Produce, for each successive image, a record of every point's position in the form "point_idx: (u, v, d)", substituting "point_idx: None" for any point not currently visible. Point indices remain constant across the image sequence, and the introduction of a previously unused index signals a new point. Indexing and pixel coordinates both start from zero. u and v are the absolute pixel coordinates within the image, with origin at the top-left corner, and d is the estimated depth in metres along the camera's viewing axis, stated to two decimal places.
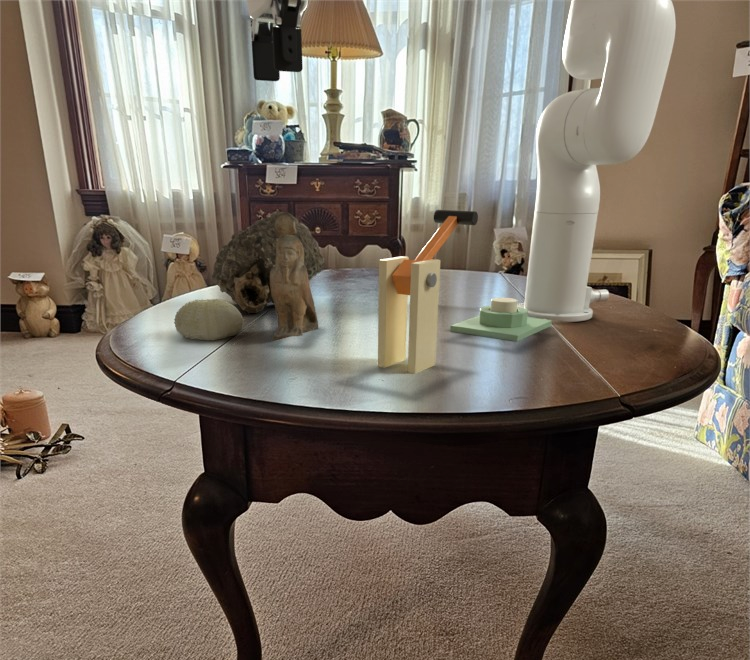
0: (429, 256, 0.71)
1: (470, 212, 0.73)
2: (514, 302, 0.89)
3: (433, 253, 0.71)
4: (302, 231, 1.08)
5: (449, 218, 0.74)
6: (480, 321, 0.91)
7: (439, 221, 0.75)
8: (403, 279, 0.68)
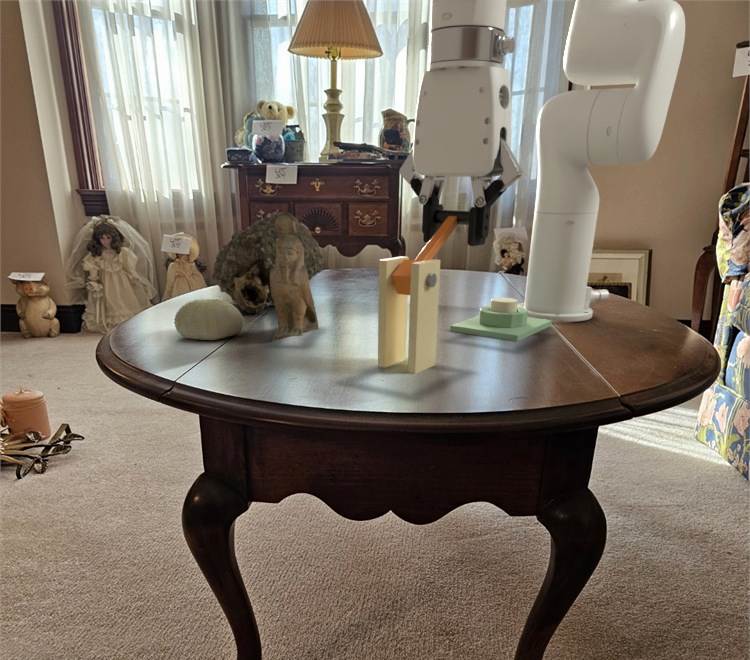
0: (429, 256, 0.71)
1: None
2: (514, 302, 0.89)
3: (433, 253, 0.71)
4: (302, 231, 1.08)
5: (449, 218, 0.74)
6: (480, 321, 0.91)
7: (439, 221, 0.75)
8: (403, 279, 0.68)
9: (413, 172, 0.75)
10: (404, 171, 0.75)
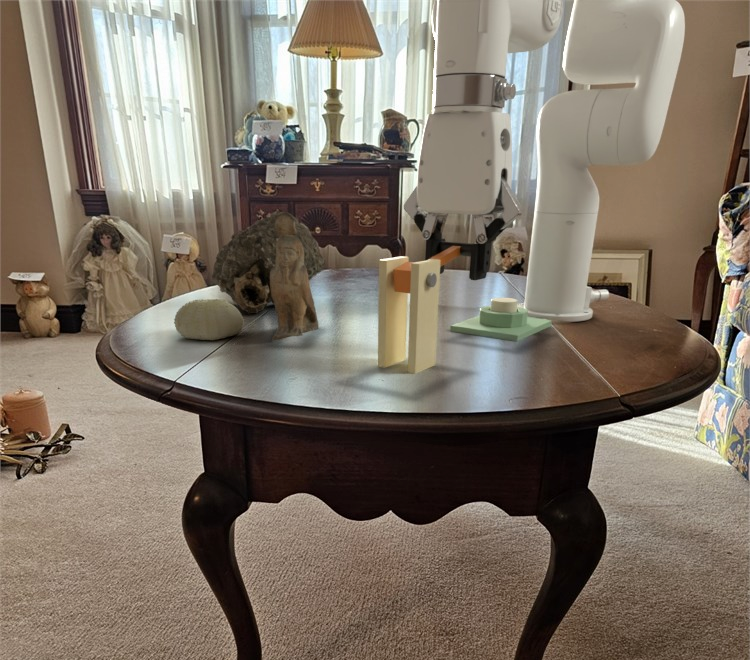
0: None
1: None
2: (514, 302, 0.89)
3: None
4: (302, 231, 1.08)
5: (453, 247, 0.76)
6: (480, 321, 0.91)
7: (442, 251, 0.77)
8: (404, 274, 0.68)
9: (416, 208, 0.77)
10: (408, 206, 0.78)
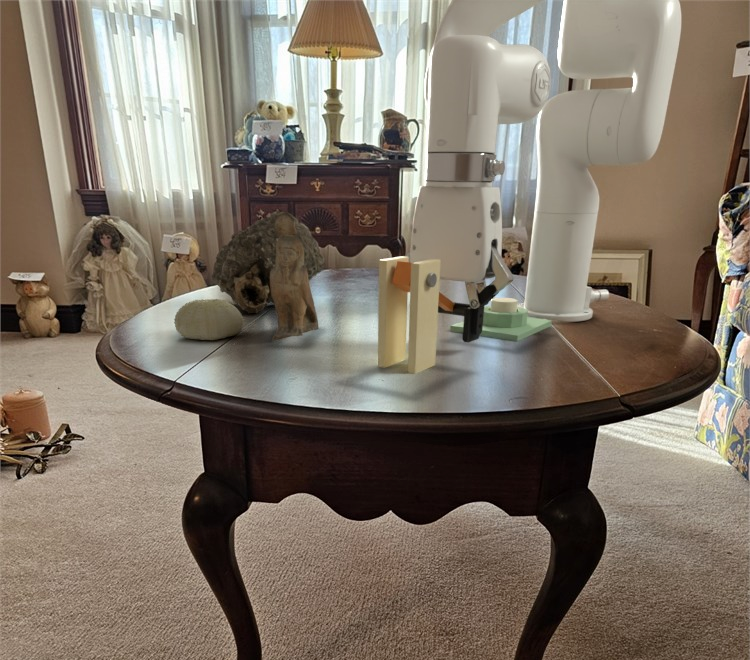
0: None
1: (468, 304, 0.78)
2: (514, 302, 0.89)
3: None
4: (302, 231, 1.08)
5: None
6: None
7: None
8: (407, 265, 0.68)
9: None
10: None
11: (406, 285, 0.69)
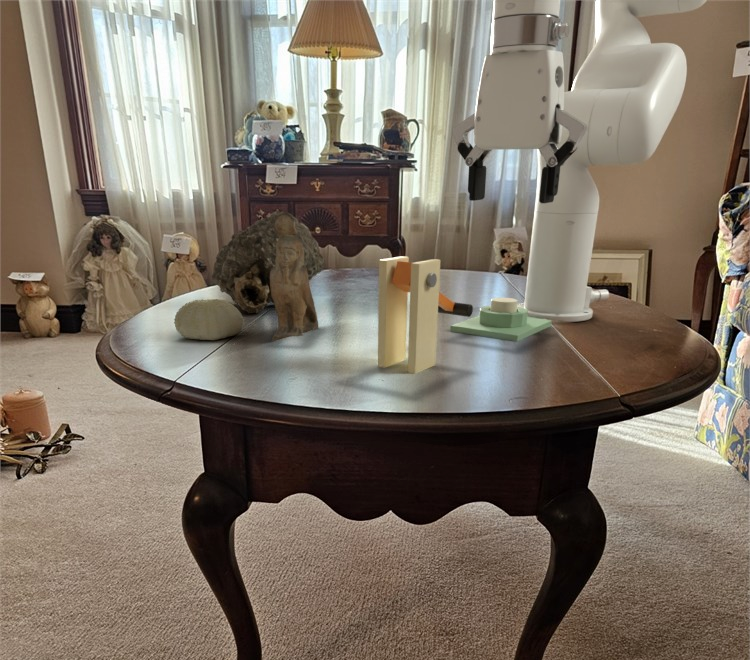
0: None
1: (468, 304, 0.78)
2: (514, 302, 0.89)
3: None
4: (302, 231, 1.08)
5: None
6: (480, 321, 0.91)
7: None
8: (407, 265, 0.68)
9: (463, 136, 0.84)
10: (456, 131, 0.84)
11: (406, 285, 0.69)
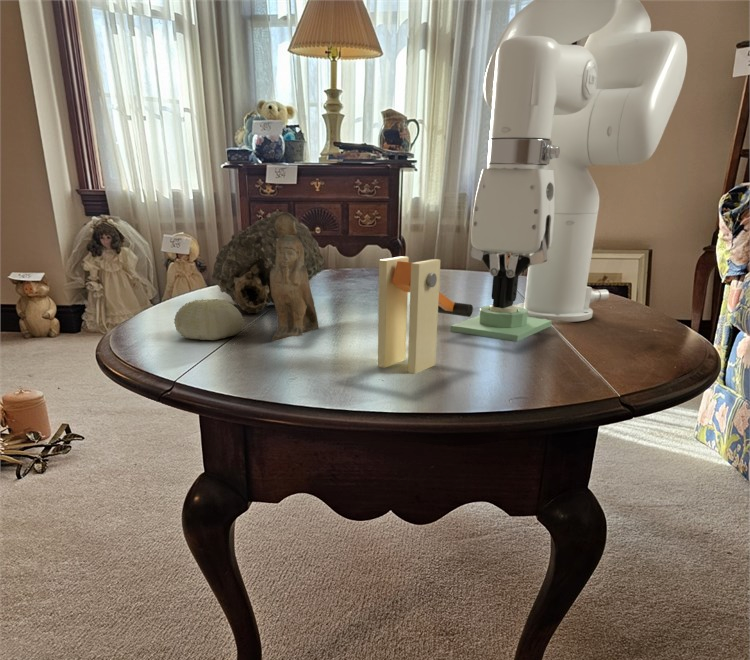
0: None
1: (468, 304, 0.78)
2: (513, 308, 0.90)
3: None
4: (302, 231, 1.08)
5: None
6: (480, 321, 0.91)
7: None
8: (407, 265, 0.68)
9: (482, 251, 0.89)
10: (474, 253, 0.89)
11: (406, 285, 0.69)
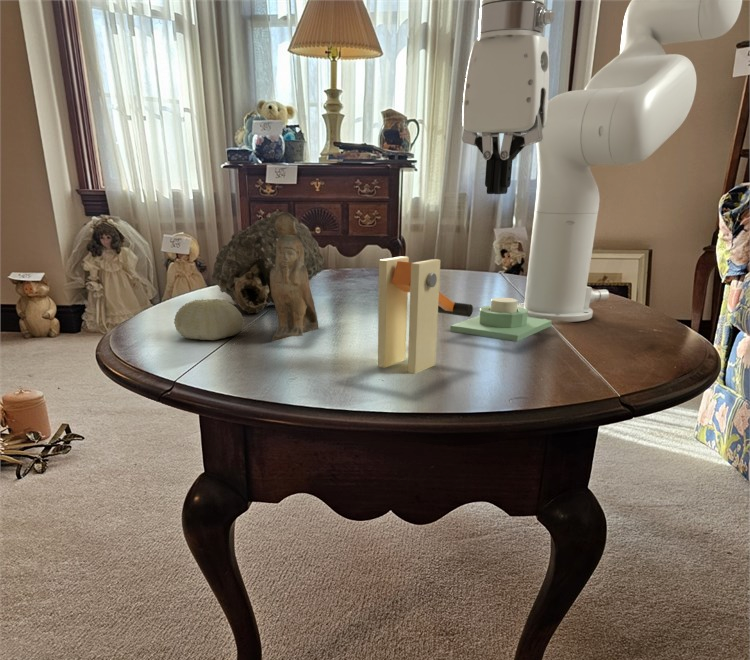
0: None
1: (468, 304, 0.78)
2: (514, 302, 0.89)
3: None
4: (302, 231, 1.08)
5: None
6: (480, 321, 0.91)
7: None
8: (407, 265, 0.68)
9: (474, 134, 0.85)
10: (466, 137, 0.86)
11: (406, 285, 0.69)
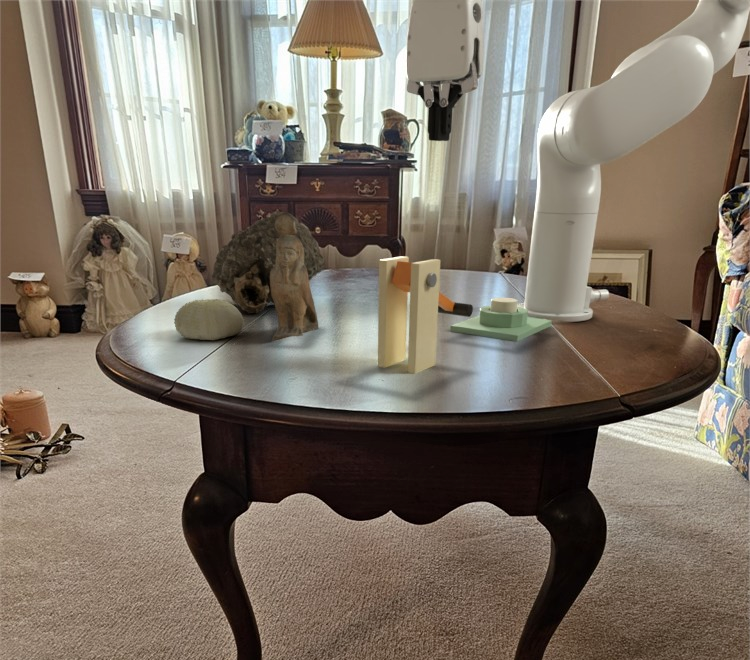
0: None
1: (468, 304, 0.78)
2: (514, 302, 0.89)
3: None
4: (302, 231, 1.08)
5: None
6: (480, 321, 0.91)
7: None
8: (407, 265, 0.68)
9: (417, 84, 0.92)
10: (410, 87, 0.92)
11: (406, 285, 0.69)
